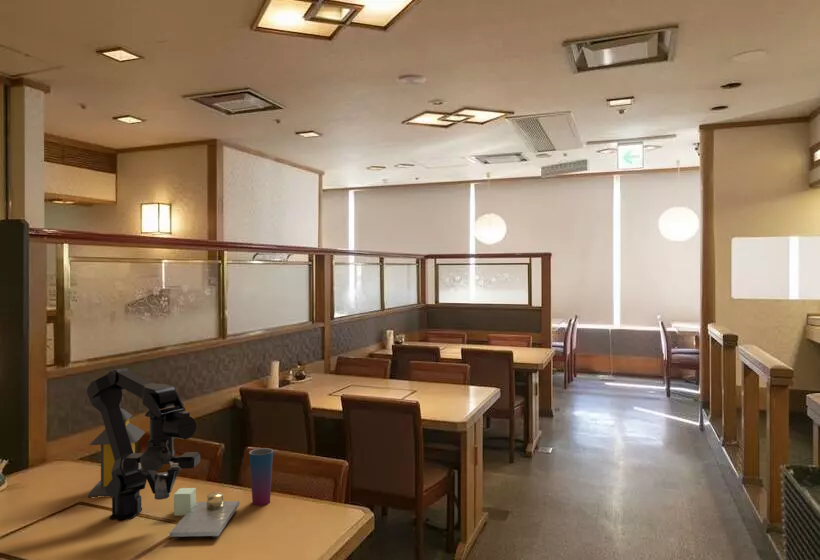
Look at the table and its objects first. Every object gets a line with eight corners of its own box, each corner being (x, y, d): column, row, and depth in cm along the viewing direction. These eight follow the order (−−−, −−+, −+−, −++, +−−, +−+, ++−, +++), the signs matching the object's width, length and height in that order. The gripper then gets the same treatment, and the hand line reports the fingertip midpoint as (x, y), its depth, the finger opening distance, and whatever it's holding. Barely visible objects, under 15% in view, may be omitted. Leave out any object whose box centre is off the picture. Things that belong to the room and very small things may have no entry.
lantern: (137, 494, 174) (137, 396, 174) (86, 498, 171) (86, 398, 171) (147, 479, 188) (147, 388, 188) (100, 482, 185) (100, 390, 185)
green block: (174, 515, 158) (174, 494, 158) (180, 509, 163) (180, 488, 163) (190, 515, 158) (190, 493, 158) (196, 508, 163) (195, 487, 163)
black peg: (152, 499, 149) (152, 476, 149) (157, 494, 153) (157, 472, 153) (166, 499, 150) (166, 476, 150) (171, 494, 153) (171, 472, 153)
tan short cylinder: (204, 508, 156) (204, 498, 157) (209, 502, 161) (209, 492, 161) (220, 508, 157) (220, 497, 157) (225, 502, 161) (225, 491, 161)
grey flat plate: (169, 542, 142) (169, 532, 142) (197, 510, 162) (197, 501, 162) (218, 541, 142) (218, 531, 142) (239, 509, 162) (239, 501, 162)
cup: (266, 507, 163) (266, 455, 163) (245, 506, 164) (244, 454, 165) (277, 498, 170) (276, 448, 170) (256, 497, 171) (255, 447, 171)
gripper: (111, 443, 143) (111, 505, 143) (186, 442, 144) (186, 503, 144) (131, 431, 154) (131, 489, 154) (200, 430, 155) (201, 488, 155)
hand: (162, 492), depth 151 cm, fingers closed on black peg, 4 cm apart
